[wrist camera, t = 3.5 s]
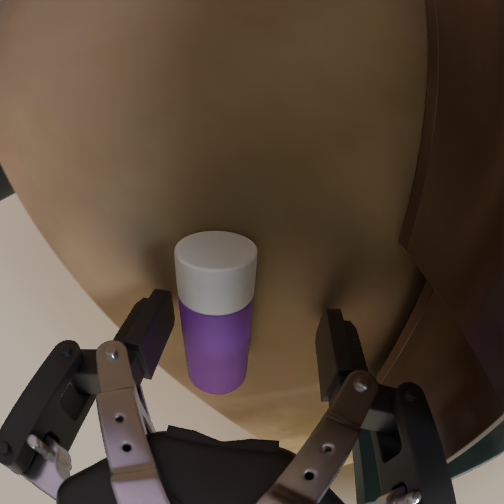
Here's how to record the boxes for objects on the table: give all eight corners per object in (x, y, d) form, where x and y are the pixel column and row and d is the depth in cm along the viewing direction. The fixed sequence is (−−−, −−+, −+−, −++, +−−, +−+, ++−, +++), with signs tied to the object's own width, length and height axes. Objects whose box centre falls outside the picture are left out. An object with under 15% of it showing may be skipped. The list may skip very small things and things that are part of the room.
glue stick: (258, 373, 14) (213, 405, 12) (220, 342, 16) (177, 367, 14) (275, 251, 10) (207, 281, 8) (222, 224, 12) (159, 243, 10)
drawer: (454, 408, 17) (473, 473, 10) (327, 426, 17) (331, 515, 10) (563, 229, 8) (629, 292, 1) (438, 177, 8) (592, 293, 2)
